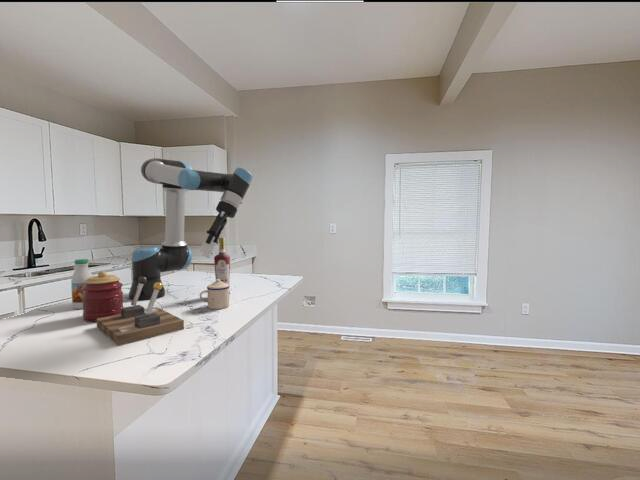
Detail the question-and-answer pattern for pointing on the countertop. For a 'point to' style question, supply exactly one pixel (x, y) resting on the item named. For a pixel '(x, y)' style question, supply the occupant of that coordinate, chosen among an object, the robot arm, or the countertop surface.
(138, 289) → the rear lever
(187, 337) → the countertop surface
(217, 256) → the liquor
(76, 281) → the milk bottle
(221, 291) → the teacup with lid
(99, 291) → the canister
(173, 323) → the brown wooden base
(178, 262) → the robot arm
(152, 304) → the front lever
